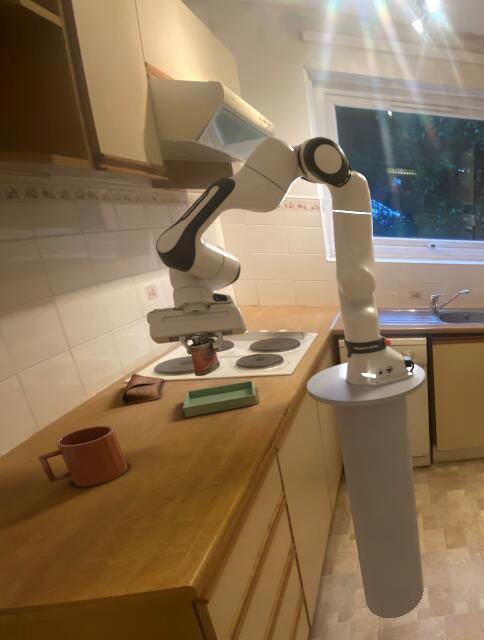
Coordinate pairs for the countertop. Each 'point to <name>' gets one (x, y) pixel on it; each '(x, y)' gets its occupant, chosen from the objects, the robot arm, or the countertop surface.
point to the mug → (88, 456)
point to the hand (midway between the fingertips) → (204, 351)
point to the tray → (219, 398)
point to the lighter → (203, 354)
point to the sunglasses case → (142, 389)
